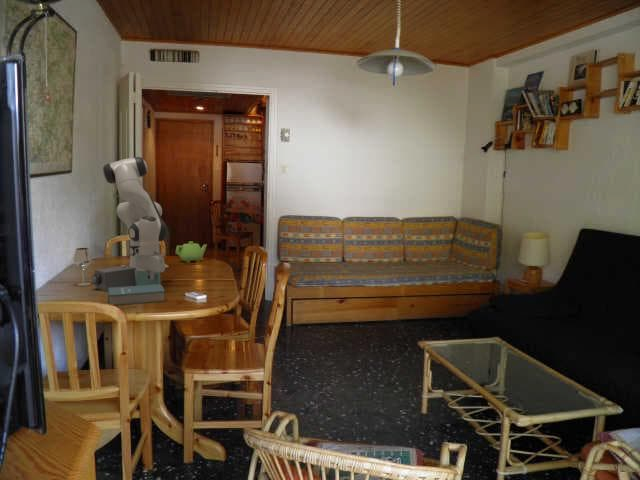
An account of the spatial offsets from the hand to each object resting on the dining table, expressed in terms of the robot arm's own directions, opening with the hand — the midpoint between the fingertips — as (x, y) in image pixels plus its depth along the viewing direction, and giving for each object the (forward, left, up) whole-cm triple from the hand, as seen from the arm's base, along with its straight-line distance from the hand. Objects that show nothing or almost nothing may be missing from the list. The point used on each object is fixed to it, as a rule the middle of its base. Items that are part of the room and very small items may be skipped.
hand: (150, 279), depth 252 cm
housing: (+10, -16, -5) cm, 20 cm away
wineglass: (+17, -33, -5) cm, 38 cm away
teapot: (-60, -52, -5) cm, 80 cm away
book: (+15, +12, -6) cm, 20 cm away
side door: (-1, -4, -5) cm, 6 cm away
